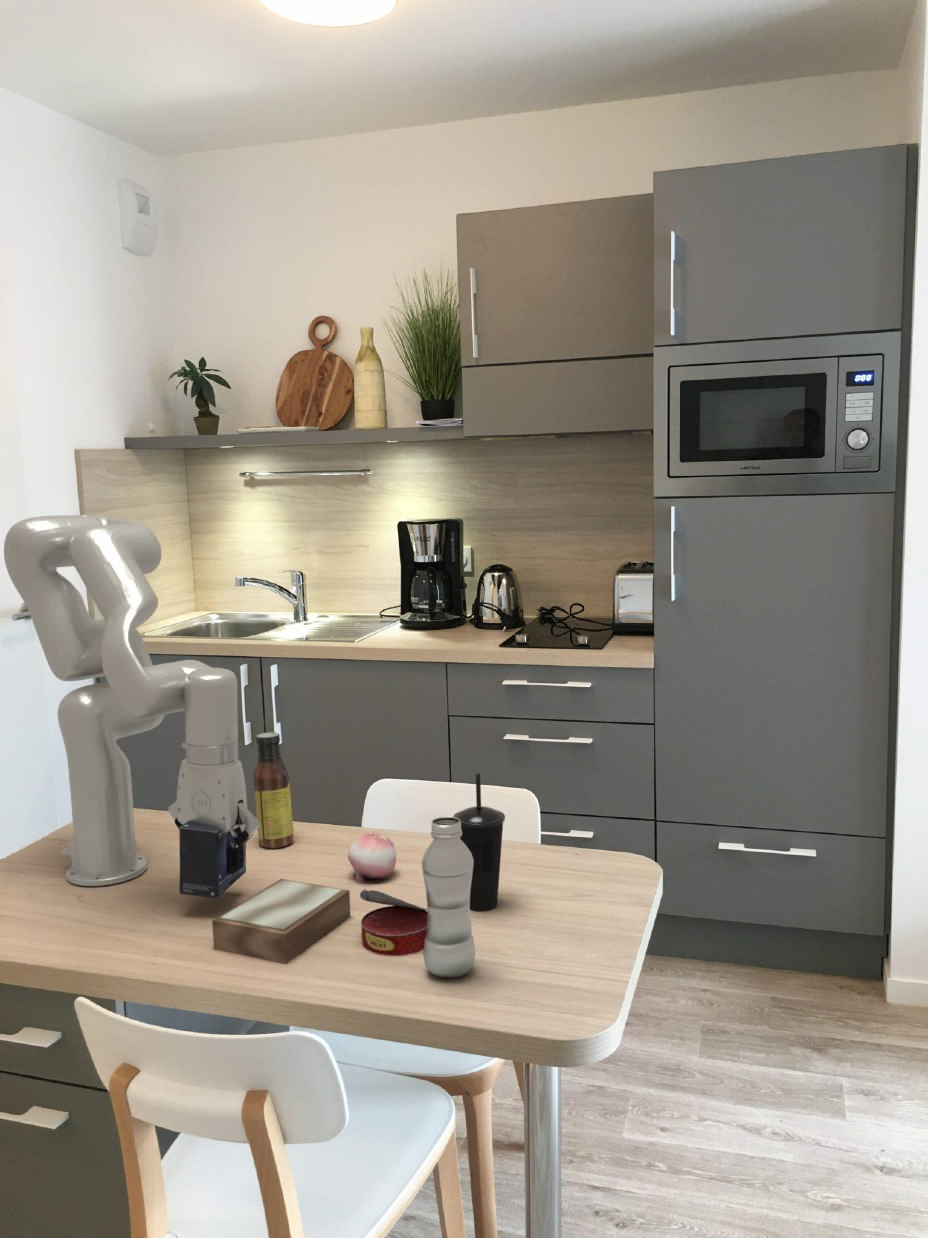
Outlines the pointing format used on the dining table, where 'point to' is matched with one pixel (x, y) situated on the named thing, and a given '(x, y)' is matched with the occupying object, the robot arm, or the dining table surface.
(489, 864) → the drinking cup
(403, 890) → the dining table surface
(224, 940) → the base
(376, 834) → the onion
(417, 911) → the canned food
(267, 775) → the sauce bottle
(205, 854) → the small box
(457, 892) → the plastic bottle
